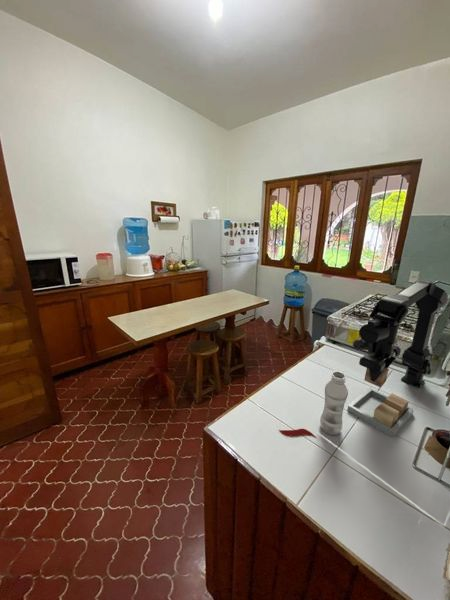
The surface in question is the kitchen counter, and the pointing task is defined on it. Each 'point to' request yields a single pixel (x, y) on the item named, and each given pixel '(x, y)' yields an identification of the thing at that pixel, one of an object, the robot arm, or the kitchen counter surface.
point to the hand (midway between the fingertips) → (375, 378)
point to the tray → (367, 406)
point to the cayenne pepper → (296, 432)
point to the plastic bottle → (334, 404)
